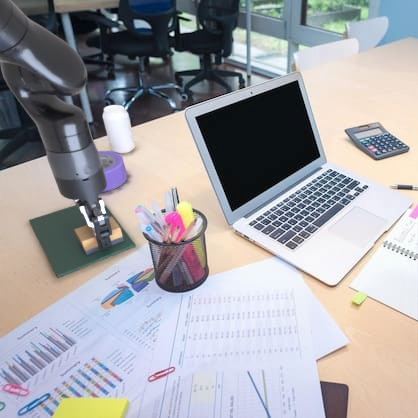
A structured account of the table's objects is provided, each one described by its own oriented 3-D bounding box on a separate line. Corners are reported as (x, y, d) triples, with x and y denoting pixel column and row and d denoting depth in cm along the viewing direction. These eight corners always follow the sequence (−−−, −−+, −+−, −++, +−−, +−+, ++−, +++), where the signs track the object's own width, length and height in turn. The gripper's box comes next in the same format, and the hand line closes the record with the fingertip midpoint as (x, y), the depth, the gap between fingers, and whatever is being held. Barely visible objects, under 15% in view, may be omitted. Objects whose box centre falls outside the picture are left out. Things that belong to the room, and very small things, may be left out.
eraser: (86, 255, 74) (81, 241, 72) (79, 243, 77) (73, 229, 75) (124, 241, 78) (120, 227, 76) (115, 229, 81) (111, 216, 79)
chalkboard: (58, 278, 70) (57, 275, 70) (29, 222, 82) (28, 219, 81) (135, 246, 78) (135, 244, 78) (100, 199, 90) (99, 197, 89)
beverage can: (124, 142, 111) (114, 102, 104) (140, 148, 110) (132, 107, 102) (106, 151, 107) (95, 109, 100) (123, 157, 105) (113, 115, 98)
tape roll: (75, 171, 98) (69, 153, 95) (125, 164, 102) (121, 147, 99) (73, 197, 89) (67, 178, 86) (129, 188, 94) (124, 170, 91)
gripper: (41, 155, 69) (69, 229, 79) (65, 192, 61) (93, 269, 71) (86, 144, 73) (108, 215, 84) (115, 178, 65) (135, 252, 75)
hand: (101, 240), depth 77 cm, fingers closed on eraser, 4 cm apart
